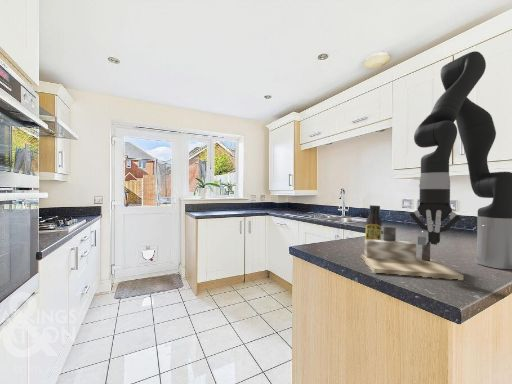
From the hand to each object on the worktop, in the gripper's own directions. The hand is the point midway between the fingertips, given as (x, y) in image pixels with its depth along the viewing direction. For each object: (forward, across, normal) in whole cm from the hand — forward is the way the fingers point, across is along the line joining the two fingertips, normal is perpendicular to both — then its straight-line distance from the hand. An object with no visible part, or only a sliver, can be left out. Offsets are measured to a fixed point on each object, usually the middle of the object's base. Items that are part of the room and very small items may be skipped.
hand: (433, 244), depth 73 cm
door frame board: (+10, +8, -2) cm, 13 cm away
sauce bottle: (+10, +23, -20) cm, 32 cm away
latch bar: (0, +3, -5) cm, 6 cm away
